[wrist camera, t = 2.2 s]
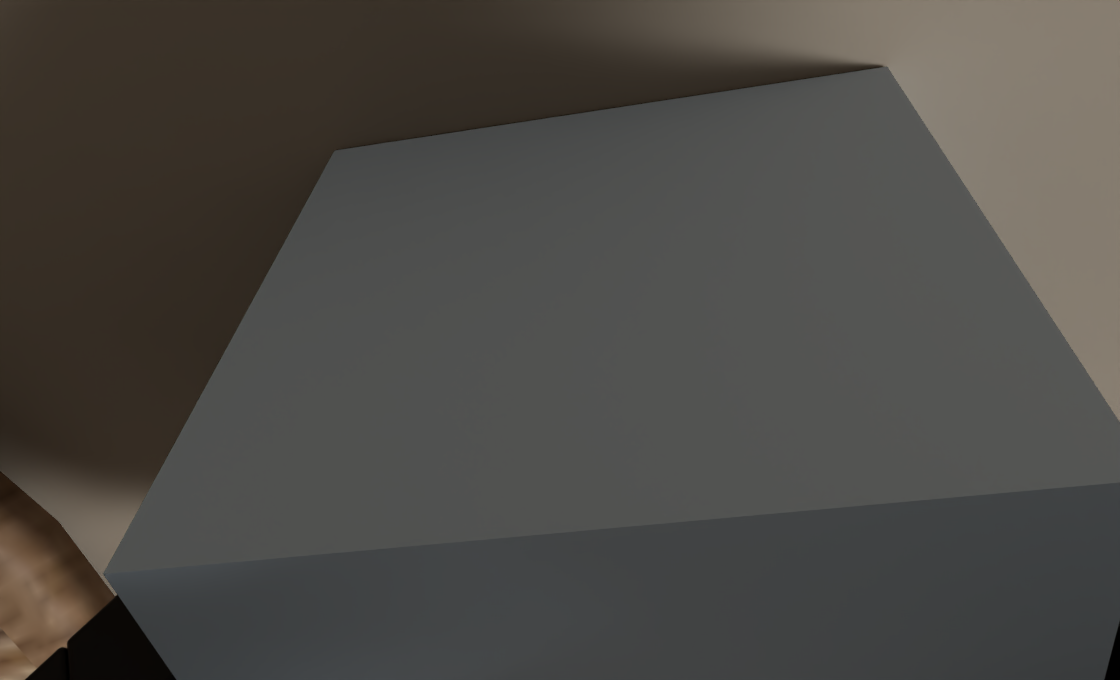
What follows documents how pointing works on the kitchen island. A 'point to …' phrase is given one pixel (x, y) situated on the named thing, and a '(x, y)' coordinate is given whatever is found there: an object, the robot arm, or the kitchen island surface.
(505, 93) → the kitchen island surface
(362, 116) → the kitchen island surface
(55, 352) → the kitchen island surface
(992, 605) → the slate block
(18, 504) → the trivet
